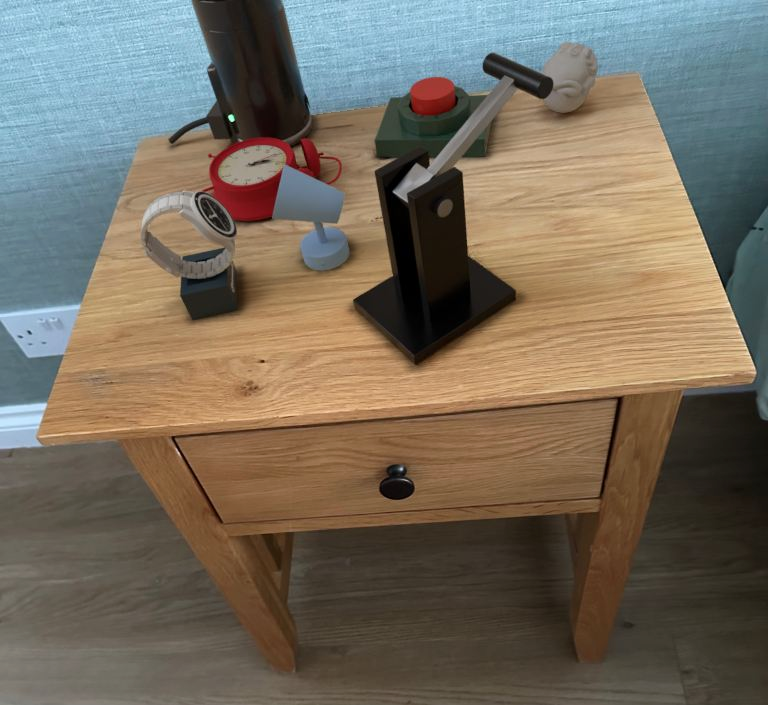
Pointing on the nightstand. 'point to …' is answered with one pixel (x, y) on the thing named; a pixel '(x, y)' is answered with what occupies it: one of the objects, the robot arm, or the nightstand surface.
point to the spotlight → (313, 217)
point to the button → (433, 96)
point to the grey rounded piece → (570, 76)
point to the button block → (427, 127)
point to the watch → (201, 270)
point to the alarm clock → (258, 174)
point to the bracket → (428, 265)
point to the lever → (479, 118)
